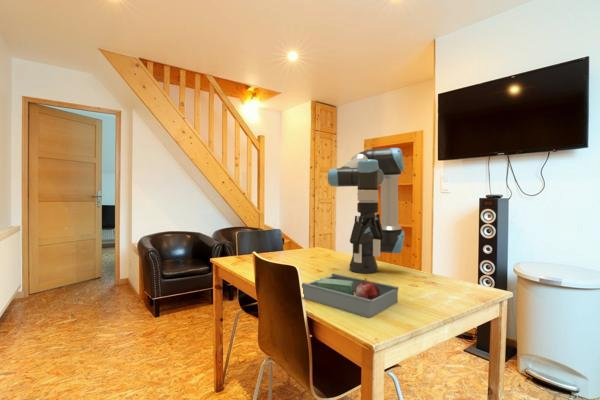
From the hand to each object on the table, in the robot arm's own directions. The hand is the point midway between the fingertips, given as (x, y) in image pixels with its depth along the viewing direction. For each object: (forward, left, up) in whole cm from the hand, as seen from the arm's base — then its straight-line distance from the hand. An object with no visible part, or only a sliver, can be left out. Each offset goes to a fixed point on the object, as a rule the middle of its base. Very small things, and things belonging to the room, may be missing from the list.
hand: (367, 259), depth 116 cm
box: (+4, -12, -17) cm, 21 cm away
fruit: (0, 0, -17) cm, 17 cm away
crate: (0, -8, -17) cm, 19 cm away
